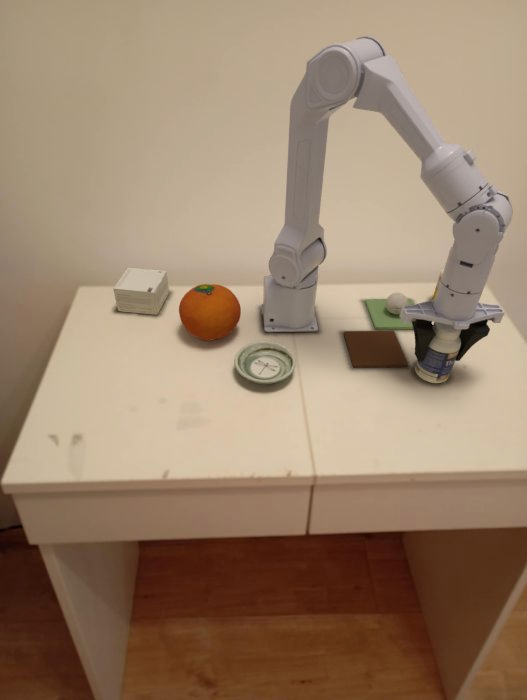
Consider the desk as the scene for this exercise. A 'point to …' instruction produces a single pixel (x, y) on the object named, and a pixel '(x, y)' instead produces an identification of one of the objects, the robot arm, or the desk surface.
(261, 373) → the saucer
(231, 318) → the fruit
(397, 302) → the golf ball
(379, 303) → the sage mat
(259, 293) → the desk surface
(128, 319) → the desk surface
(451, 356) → the pill bottle
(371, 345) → the walnut mat
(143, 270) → the small box
